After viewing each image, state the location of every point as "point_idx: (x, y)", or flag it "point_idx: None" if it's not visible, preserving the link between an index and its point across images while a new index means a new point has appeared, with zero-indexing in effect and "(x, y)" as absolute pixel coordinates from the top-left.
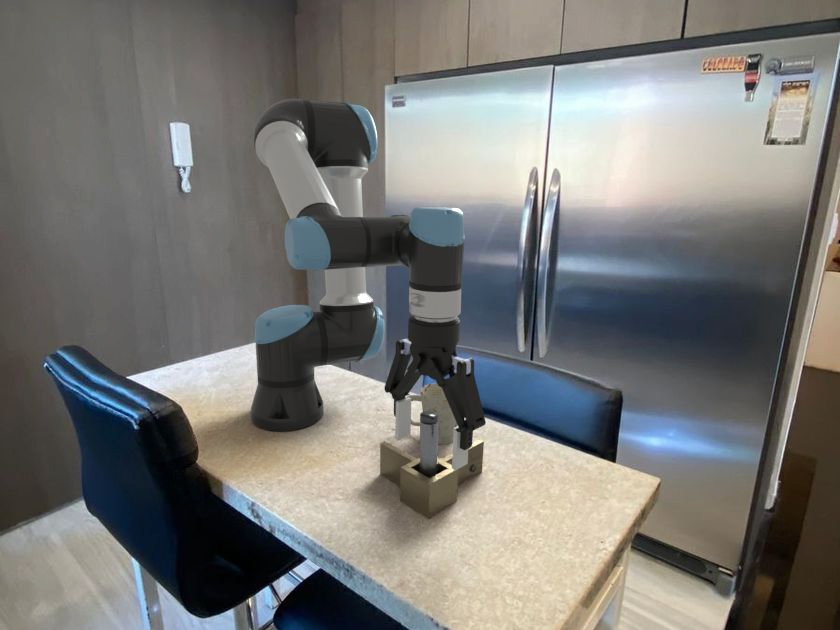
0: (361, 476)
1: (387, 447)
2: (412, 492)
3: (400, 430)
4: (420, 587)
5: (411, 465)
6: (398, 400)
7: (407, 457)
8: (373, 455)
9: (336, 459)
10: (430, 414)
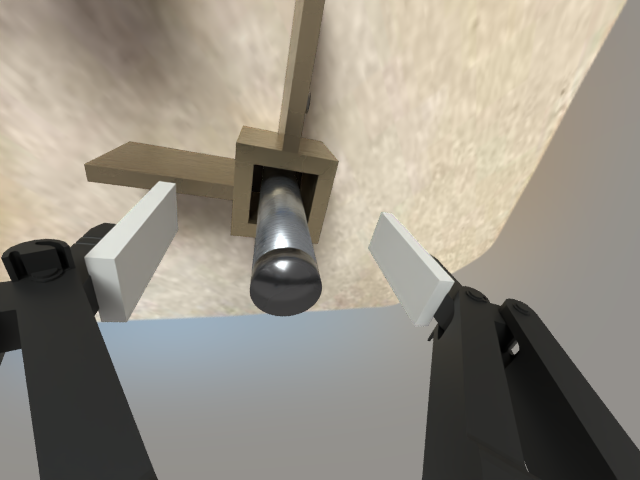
0: (112, 185)
1: (125, 185)
2: None
3: (169, 239)
4: (358, 295)
5: (244, 216)
6: (96, 307)
7: (210, 195)
8: (26, 88)
9: None
10: (290, 288)
